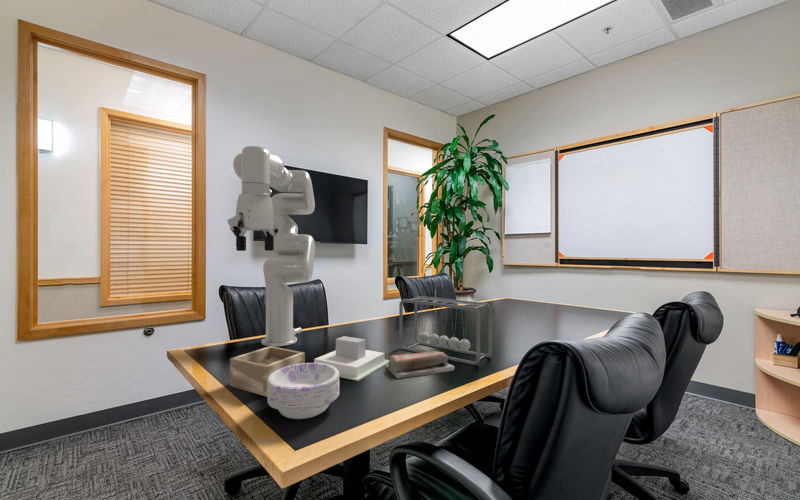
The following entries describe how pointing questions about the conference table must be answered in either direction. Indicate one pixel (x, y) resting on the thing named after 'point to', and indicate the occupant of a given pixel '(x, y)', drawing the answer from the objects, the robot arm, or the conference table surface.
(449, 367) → the packaged product
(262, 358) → the box
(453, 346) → the newton's cradle
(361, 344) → the lid
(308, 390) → the paper bowls
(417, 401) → the conference table surface
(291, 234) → the robot arm
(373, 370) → the mat
